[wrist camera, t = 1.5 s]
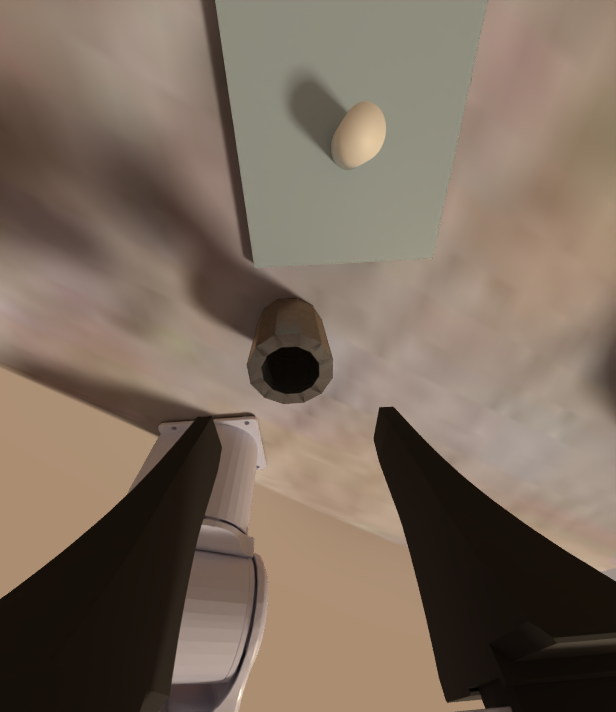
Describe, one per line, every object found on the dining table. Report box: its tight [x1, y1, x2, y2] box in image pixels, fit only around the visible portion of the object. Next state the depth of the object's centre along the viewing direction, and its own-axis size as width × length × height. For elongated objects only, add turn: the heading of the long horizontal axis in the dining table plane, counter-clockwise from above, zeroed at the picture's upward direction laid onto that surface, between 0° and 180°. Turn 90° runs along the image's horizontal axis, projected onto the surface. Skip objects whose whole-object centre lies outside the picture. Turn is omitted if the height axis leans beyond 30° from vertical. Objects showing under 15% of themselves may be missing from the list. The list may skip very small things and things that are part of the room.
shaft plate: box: [215, 0, 488, 268], centre depth 12 cm, size 12×12×4 cm
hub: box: [247, 298, 333, 404], centre depth 17 cm, size 5×5×6 cm
